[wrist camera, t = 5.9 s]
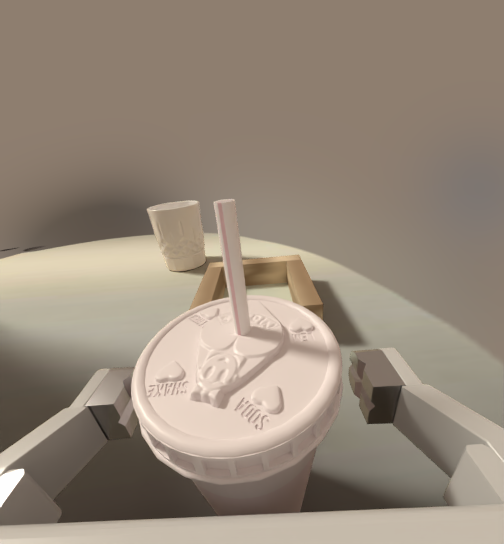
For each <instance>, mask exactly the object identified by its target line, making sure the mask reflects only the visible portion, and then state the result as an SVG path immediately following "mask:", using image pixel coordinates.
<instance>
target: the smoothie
mask: <svg viewBox="0 0 504 544" xmlns="http://www.w3.org/2000/svg"><path fill="white" fill-rule="evenodd" d="M214 208H215V214H216V220H217V227H218V233H219V239H220V245H221V251H222V257H223V264H224V270H225V276H226V282H227V288H228V294H229V297H227V298H222V299H218V300H215V301H211V302H208V303H205V304H203V305H200V306H197V307H195V308H193V309H191V310H189V311H187V312H185V313H183V314H182V315H180V316H179V317H177V318H175V319H174V320H172V321H171V322H170V323H168V324H167V325H166V326H165V327H164V328H162V329H161V330H160V331H159V332H158V333H157V334H156V335H155V336H154V337H153V339H152V340H151V341H150V342H149V343H148V345H147V346H146V347H145V349H144V350H143V352H142V354H141V355H140V357H139V359H138V362H137V364H136V366H135V369H134V372H133V377H132V384H131V396H132V402H133V407H134V409H135V412H136V415H137V417H138V419H139V423H140V428H141V433H142V436H143V438H144V439H145V441H146V442H147V444H148V445H149V447H150V448H151V450H152V451H153V453H154V454H155V456H156V457H157V459H158V460H160V461H161V462H163V463H164V464H166V465H167V466H169V467H170V468H172V469H173V470H175V471H176V472H178V473H179V474H180V475H182V476H183V477H186V478H190V479H191V480H192V481H193V482H194V484H195V485H196V486H197V488H198V489H199V491H200V492H201V493H202V495H203V496H204V497H205V499H206V500H207V502H208V503H209V504H210V506H211V507H212V508H213V510H214V511H215V513H216V514H217V515H218V516H234V515H257V514H280V513H300V510H301V507H302V503H303V499H304V495H305V491H306V487H307V483H308V479H309V475H310V471H311V468H312V464H313V460H314V456H315V452H316V448H317V446H318V445H319V444H320V443H321V442H322V441H323V439H324V438H325V436H326V434H327V432H328V431H329V429H330V427H331V425H332V424H333V422H334V420H335V418H336V417H337V415H338V412H339V406H340V401H341V396H342V391H343V384H342V377H341V373H342V357H341V351H340V348H339V344H338V342H337V340H336V338H335V336H334V334H333V332H332V331H331V329H330V328H329V327H328V326H327V324H326V323H325V322H324V321H323V320H322V319H321V318H319V317H318V316H317V315H316V314H314V313H313V312H311V311H310V310H308V309H306V308H305V307H303V306H301V305H298V304H296V303H294V302H292V301H288V300H285V299H281V298H277V297H270V296H261V295H247V294H246V286H245V278H244V270H243V262H242V254H241V246H240V238H239V230H238V222H237V214H236V206H235V200H234V199H225V200H218V201H215V202H214Z"/></svg>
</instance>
